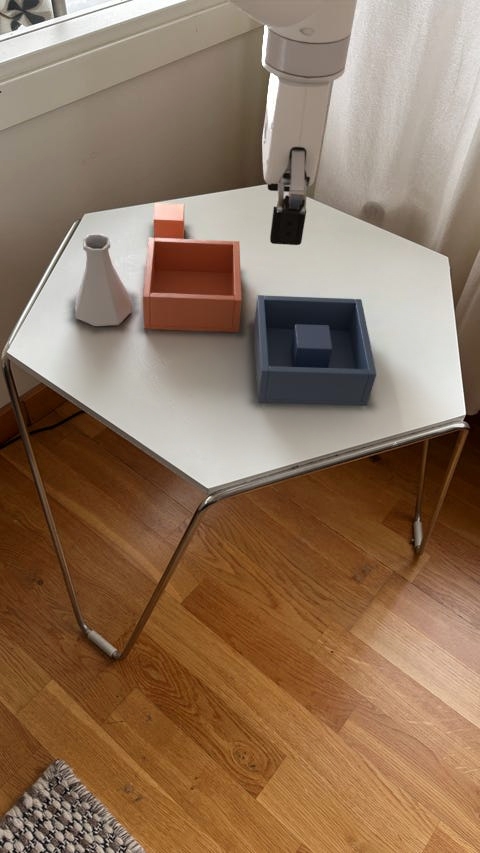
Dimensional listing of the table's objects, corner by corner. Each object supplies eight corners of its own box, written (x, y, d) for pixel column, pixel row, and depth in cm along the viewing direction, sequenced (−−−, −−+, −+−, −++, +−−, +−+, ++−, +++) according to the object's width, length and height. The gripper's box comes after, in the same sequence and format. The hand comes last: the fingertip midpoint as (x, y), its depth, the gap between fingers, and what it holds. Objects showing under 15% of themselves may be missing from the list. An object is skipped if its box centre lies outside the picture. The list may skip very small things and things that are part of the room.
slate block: (293, 372, 83) (297, 348, 80) (290, 348, 85) (294, 323, 82) (326, 373, 83) (332, 349, 80) (323, 349, 86) (329, 325, 82)
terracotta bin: (144, 329, 87) (142, 296, 83) (149, 269, 94) (148, 237, 90) (238, 332, 87) (241, 300, 83) (236, 273, 95) (239, 241, 91)
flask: (124, 332, 86) (118, 265, 78) (66, 323, 86) (55, 255, 79) (139, 294, 91) (135, 228, 83) (83, 286, 91) (75, 219, 83)
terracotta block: (154, 244, 98) (153, 219, 94) (155, 227, 100) (155, 202, 97) (183, 245, 98) (183, 220, 95) (184, 228, 100) (184, 204, 97)
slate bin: (257, 402, 80) (261, 371, 76) (253, 326, 88) (257, 294, 84) (367, 405, 81) (376, 374, 77) (353, 330, 89) (361, 298, 85)
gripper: (261, 7, 68) (247, 170, 81) (265, 90, 57) (249, 263, 70) (338, 12, 68) (312, 174, 82) (357, 96, 57) (324, 267, 71)
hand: (283, 215), depth 76 cm, fingers open, 9 cm apart
